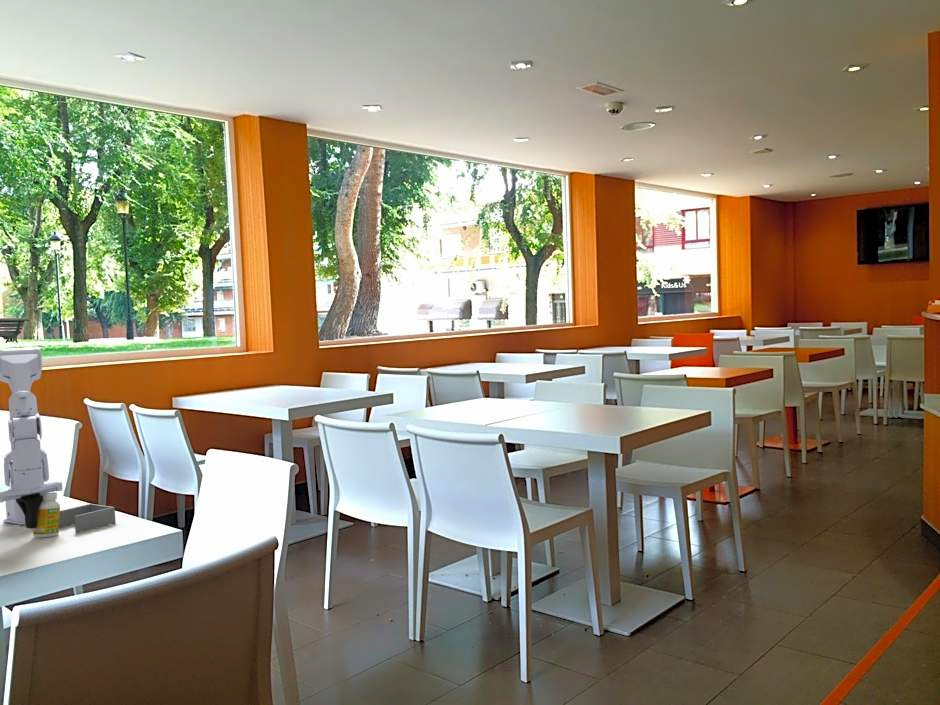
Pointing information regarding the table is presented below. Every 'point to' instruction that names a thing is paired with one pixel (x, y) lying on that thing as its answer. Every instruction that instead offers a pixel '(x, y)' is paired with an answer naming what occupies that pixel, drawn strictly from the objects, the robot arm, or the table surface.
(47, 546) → the table surface
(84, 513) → the crate
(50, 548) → the table surface
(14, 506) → the robot arm
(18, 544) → the table surface
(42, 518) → the supplement bottle
